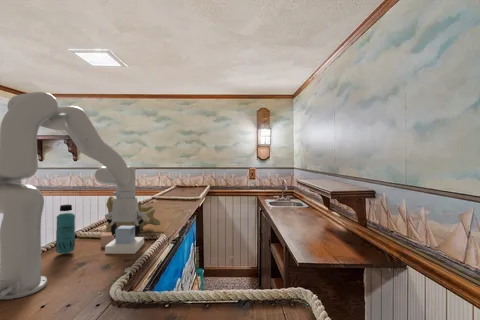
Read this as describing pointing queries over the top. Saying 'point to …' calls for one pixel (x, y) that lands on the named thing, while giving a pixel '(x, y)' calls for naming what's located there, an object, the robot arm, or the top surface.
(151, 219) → the decorative coral
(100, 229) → the top surface
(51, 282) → the top surface
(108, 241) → the terracotta block
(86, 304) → the top surface
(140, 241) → the pedestal
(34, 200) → the robot arm
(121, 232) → the grey-blue cube
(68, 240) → the beverage bottle
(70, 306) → the top surface
